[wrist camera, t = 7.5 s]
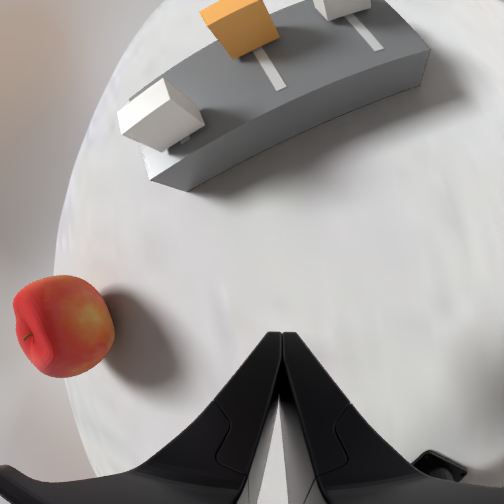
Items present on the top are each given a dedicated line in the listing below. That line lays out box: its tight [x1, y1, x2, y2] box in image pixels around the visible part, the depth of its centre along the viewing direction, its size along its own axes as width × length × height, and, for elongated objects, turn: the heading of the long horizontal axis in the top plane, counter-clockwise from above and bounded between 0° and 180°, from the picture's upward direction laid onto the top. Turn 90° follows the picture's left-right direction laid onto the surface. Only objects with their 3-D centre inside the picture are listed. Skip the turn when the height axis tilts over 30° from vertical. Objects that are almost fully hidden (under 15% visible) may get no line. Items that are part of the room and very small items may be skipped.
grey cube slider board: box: [129, 0, 431, 192], centre depth 19 cm, size 8×21×5 cm, turn 113°
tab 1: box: [117, 78, 205, 152], centre depth 16 cm, size 2×4×4 cm, turn 113°
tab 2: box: [199, 0, 280, 60], centre depth 14 cm, size 2×4×4 cm, turn 113°
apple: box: [13, 275, 115, 378], centre depth 23 cm, size 10×10×10 cm
